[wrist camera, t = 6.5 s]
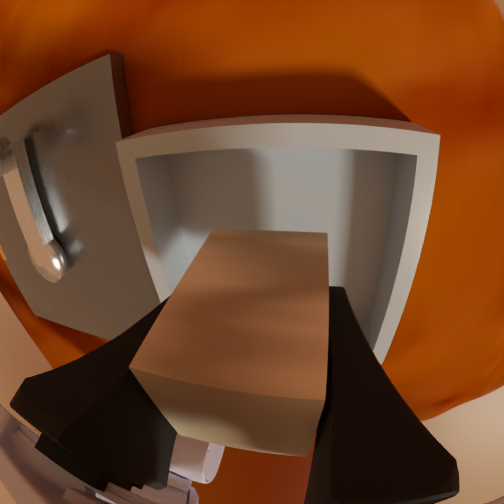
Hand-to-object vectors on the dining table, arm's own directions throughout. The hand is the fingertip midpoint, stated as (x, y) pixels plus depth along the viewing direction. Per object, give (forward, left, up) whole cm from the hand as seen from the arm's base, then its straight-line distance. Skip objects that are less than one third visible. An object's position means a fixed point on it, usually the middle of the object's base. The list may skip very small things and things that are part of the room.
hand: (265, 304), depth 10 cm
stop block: (0, 0, -1) cm, 1 cm away
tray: (0, 0, -5) cm, 5 cm away
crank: (+16, -3, -3) cm, 17 cm away
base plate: (+17, 0, -5) cm, 18 cm away
